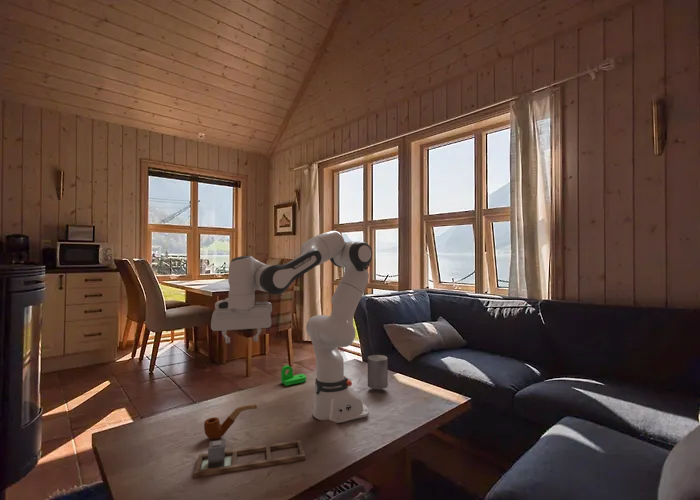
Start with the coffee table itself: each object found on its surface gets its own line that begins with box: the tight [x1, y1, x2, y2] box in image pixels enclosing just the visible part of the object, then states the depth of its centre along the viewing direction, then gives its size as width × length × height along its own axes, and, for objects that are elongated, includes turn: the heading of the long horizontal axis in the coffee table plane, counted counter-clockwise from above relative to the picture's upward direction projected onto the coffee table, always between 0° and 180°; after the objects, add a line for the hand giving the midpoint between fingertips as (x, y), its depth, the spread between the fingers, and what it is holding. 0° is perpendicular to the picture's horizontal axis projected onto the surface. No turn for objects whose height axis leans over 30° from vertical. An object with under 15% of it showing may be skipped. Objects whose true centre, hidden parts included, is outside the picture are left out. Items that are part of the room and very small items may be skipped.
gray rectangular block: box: [207, 439, 226, 469], centre depth 110 cm, size 4×4×6 cm
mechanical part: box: [280, 364, 307, 387], centre depth 182 cm, size 12×6×8 cm, turn 124°
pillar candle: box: [367, 354, 389, 390], centre depth 175 cm, size 10×10×15 cm
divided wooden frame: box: [193, 439, 306, 478], centre depth 112 cm, size 32×10×1 cm, turn 106°
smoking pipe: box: [203, 403, 258, 440], centre depth 128 cm, size 7×18×6 cm
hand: (241, 341), depth 126 cm, fingers open, 8 cm apart
